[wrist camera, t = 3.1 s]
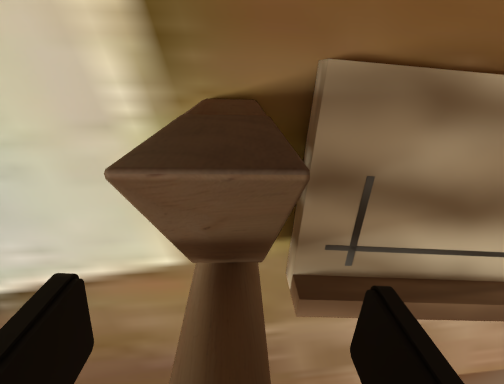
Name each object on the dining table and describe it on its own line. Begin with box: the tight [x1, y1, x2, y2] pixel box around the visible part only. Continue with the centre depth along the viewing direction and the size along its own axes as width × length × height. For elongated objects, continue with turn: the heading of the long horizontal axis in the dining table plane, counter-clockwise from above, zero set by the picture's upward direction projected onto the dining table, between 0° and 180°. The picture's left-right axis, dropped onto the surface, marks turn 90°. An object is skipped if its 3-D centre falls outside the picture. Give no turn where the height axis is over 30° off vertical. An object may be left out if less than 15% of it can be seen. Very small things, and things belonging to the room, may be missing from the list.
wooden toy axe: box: [104, 99, 310, 384], centre depth 11 cm, size 4×11×18 cm, turn 179°
